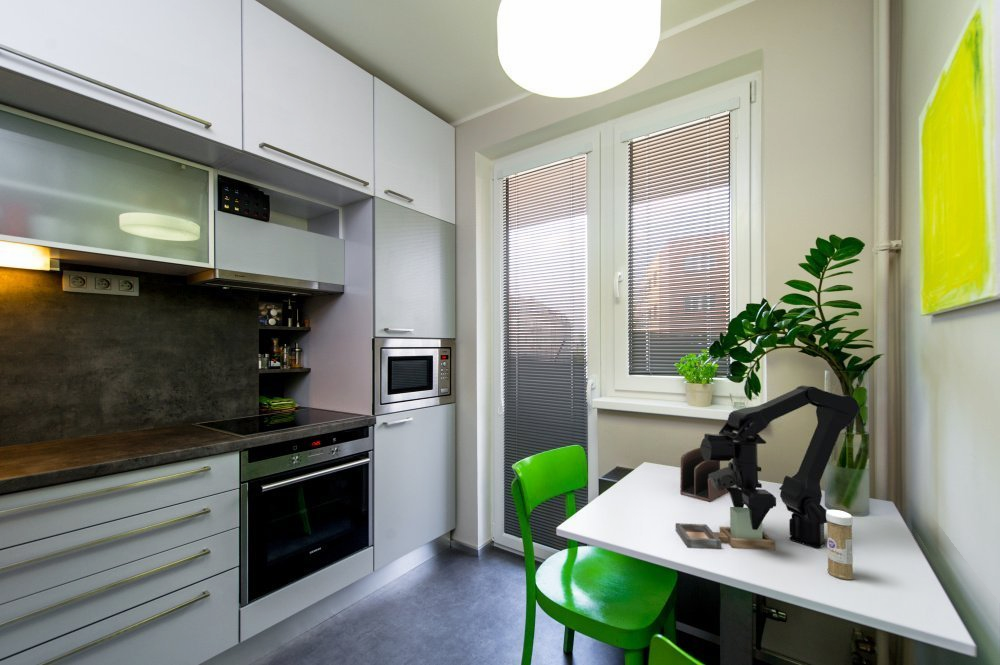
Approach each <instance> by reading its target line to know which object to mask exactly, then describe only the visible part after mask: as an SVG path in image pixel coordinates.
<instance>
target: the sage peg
mask: <svg viewBox="0 0 1000 665" xmlns="http://www.w3.org/2000/svg"><path fill="white" fill-rule="evenodd" d="M729 511H730V512H729V514H730V516H729V518H730V519H729V522H730V525H729V527H730V529H731V535H732V536H733V537H734V538H741V539H762V531H763V522H762V523H761V524H760V526H759V528H758V529H757V530H753V529H752V526H751V520H750V514H749V508H748V507H734V506H730V507H729Z"/></svg>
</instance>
